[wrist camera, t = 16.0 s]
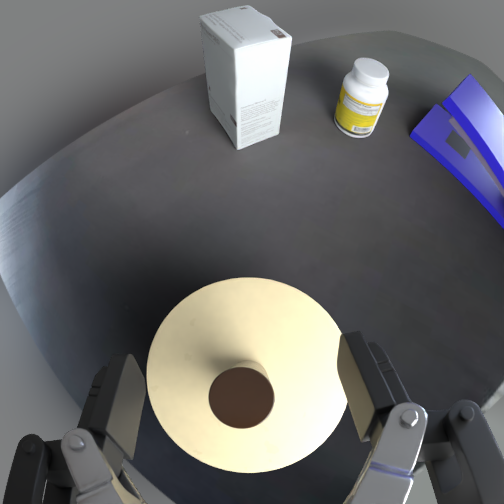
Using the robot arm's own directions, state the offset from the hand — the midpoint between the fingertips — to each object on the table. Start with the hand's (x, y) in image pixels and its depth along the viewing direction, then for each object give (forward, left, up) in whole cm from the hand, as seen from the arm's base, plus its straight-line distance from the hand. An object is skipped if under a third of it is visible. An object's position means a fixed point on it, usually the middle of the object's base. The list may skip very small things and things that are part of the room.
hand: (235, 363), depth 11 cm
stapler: (+40, -2, -17) cm, 44 cm away
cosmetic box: (+14, +23, -17) cm, 32 cm away
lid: (-1, -1, -8) cm, 8 cm away
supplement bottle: (+26, +16, -17) cm, 35 cm away
